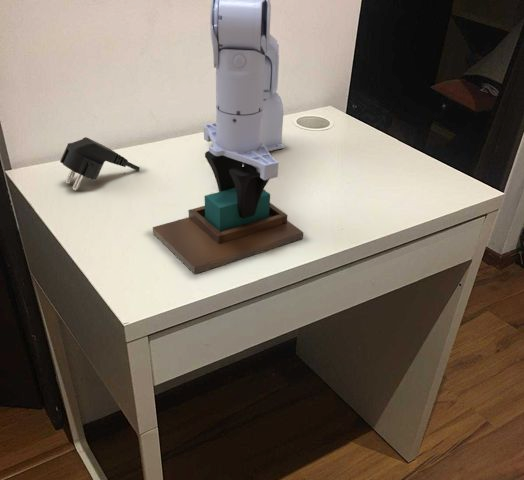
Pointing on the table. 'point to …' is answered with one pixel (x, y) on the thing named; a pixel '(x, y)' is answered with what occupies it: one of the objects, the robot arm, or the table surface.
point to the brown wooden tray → (224, 238)
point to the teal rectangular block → (232, 209)
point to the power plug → (89, 160)
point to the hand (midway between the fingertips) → (238, 208)
